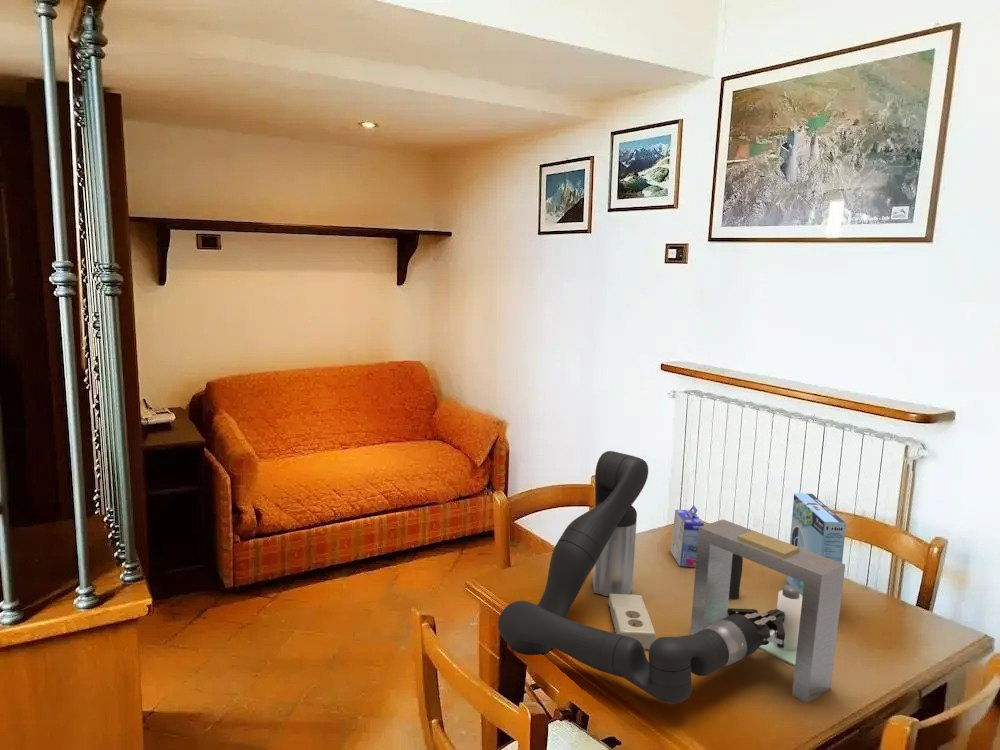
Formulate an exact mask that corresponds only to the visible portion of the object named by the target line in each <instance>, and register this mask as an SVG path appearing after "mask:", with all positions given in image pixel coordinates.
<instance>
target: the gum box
mask: <svg viewBox="0 0 1000 750" xmlns="http://www.w3.org/2000/svg"><path fill="white" fill-rule="evenodd" d="M846 527H847V523H846V521H844V520H843V519H842V518H841V517H839V515H837V514H836V513H835V512H834V511H833V510H831V509H830V508H829V507H828V506H827V505H825V503H823V502H822V501H821V500H820V499H819V498H818V497H816V496H815V495H814V494H813V493H806V492H803V493H802V492H799V493H798V492H796V493H795V492H794V493H793V503H792V515H791V528H790V538H789V544H791V545H794V546H797V547H799V548H802V549H805V550H808V551H810V552H813V553H816V554H818V555H821V556H824V557H826V558H829V559H832V560H835V561H837V562H840V563H843V559H844V558H843V557H844V551H845V550H844V549H845V537H846V529H847V528H846ZM786 582H787V583H788V585H794V586H796V587H798V588H799V589H800V594H801V595H802V596H803V588H804V582H802V581H800V580H797V579H795V578H793V577H790V576H788V575H786Z"/></svg>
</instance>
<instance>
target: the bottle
mask: <svg viewBox="0 0 1000 750" xmlns="http://www.w3.org/2000/svg"><path fill="white" fill-rule="evenodd" d="M777 595H778V597H777V604H776V609H778V610H780V611H783V612H784V615H785V619H784V623H783V627H784V632H785V642H784V648H779V647H778V646H777V643H773V644H774V645H775V646H776V647H777V648H779V649H781V650H784V651H795V650H796V649H797V644H798V634H799V625H800V616H801V607H802V597H803V596H802V595H801V594H800V589H799V588H798V587H796V586H794V585H789V584H783V586H782V589H780V590H779V591H778V593H777ZM774 633H775V631H774Z"/></svg>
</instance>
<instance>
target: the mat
mask: <svg viewBox="0 0 1000 750" xmlns="http://www.w3.org/2000/svg"><path fill="white" fill-rule="evenodd" d="M773 633H774V631H772V632H770V635H773ZM758 649H760V650H762V651H763V652H765V653H767V654H769V655H771V656H773V657H775V658H777V659H779V660H780V661H783V662H785V663H787V664H789V665H790V666H793V667H795V662H796V653H797V649H796V650H795V651H784V650H781V649H779V648H777V647H776V646H775V645H774V644H773V643H772V642H769V644H767V645H761V646H760V647H759V648H758Z"/></svg>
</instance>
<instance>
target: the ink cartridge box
mask: <svg viewBox="0 0 1000 750" xmlns="http://www.w3.org/2000/svg"><path fill="white" fill-rule="evenodd" d="M674 510H675V511H674V518H673V528H672V535H671V544H670V545H671V546H670V553H671V554H672V556H673V557H674V559H675V561H676V562H677V564H678V566H679V567H686V568H695V569H696V556H697V544H698V531H699V527H701V526H704V525H705V523H704V522H703V521H702V519H701V518H700V516H699V515H698V514H697V512H698V508H696V506H695V505H692V506H691V507H690V509H674Z"/></svg>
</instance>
